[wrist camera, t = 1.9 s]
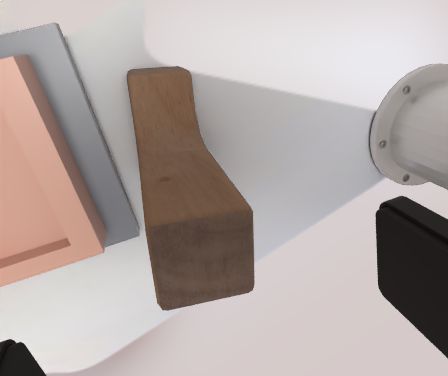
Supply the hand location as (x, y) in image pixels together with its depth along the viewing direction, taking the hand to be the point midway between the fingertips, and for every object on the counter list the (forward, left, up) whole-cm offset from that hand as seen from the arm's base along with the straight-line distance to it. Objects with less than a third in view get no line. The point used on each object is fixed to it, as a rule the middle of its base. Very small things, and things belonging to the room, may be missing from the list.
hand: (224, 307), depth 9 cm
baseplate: (+13, 0, -23) cm, 26 cm away
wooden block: (0, 0, -23) cm, 23 cm away
